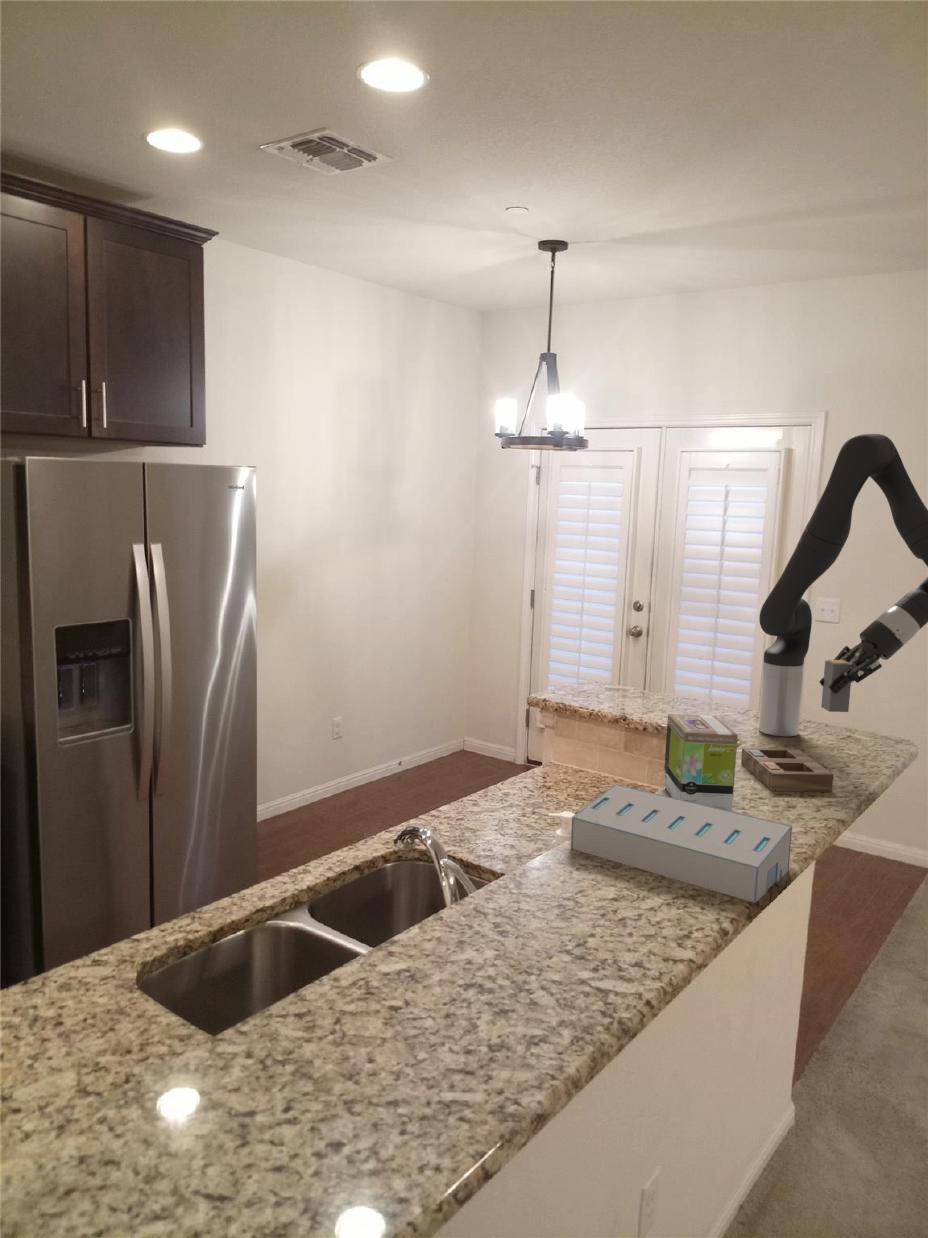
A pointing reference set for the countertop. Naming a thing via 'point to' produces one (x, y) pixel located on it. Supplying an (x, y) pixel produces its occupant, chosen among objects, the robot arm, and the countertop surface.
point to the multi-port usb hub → (685, 841)
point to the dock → (786, 770)
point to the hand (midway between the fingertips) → (827, 687)
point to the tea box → (700, 760)
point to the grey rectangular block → (829, 698)
